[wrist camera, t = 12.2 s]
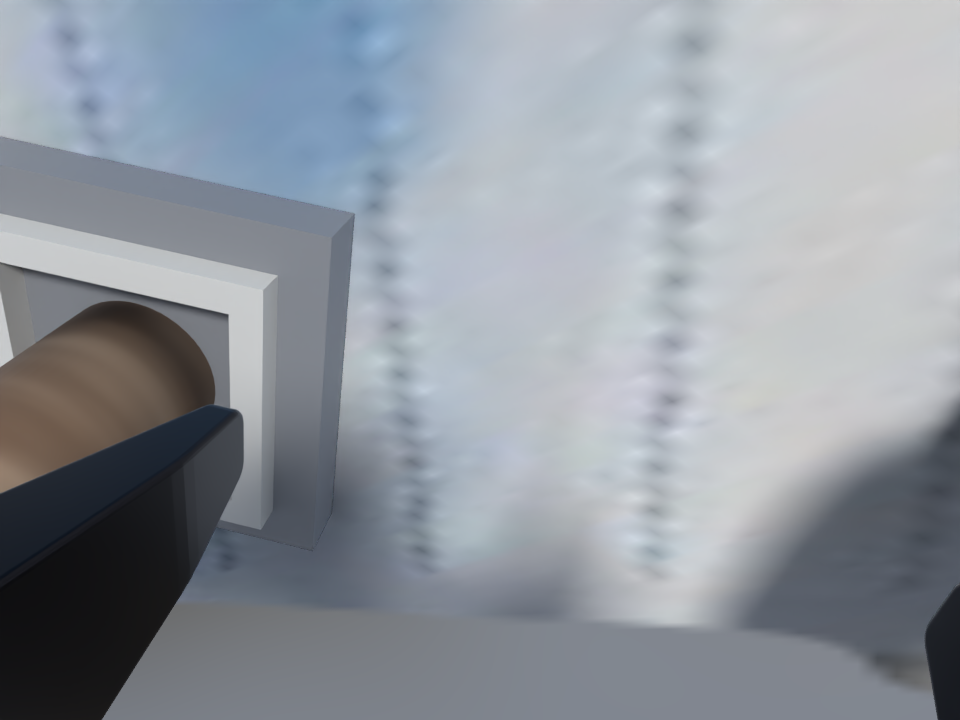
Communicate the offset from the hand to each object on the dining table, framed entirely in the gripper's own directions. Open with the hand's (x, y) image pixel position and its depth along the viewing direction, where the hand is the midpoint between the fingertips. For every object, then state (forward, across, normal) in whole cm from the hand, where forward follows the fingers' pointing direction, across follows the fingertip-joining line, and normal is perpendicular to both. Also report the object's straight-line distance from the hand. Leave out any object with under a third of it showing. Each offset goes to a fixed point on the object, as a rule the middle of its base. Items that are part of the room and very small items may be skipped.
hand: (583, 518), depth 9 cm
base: (+13, +13, +8) cm, 20 cm away
